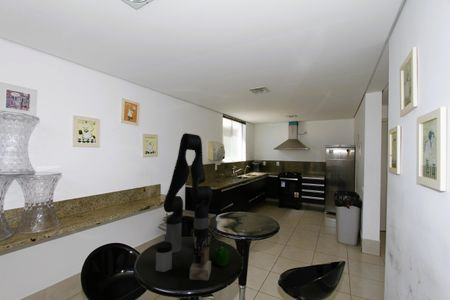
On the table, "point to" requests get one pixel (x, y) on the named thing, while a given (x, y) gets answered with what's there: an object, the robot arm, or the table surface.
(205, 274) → the maple base
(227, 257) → the bell pepper
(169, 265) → the jar
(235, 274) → the table surface
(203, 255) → the walnut cube
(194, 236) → the food container
